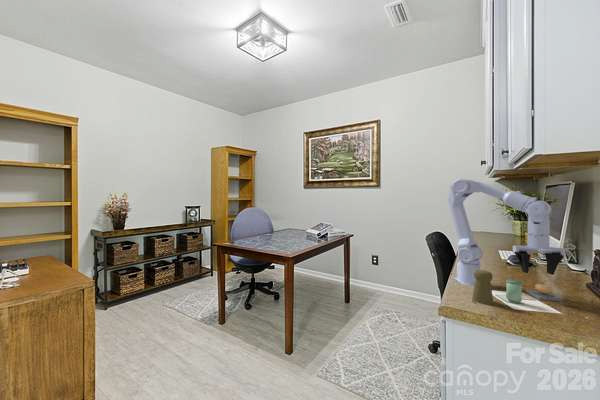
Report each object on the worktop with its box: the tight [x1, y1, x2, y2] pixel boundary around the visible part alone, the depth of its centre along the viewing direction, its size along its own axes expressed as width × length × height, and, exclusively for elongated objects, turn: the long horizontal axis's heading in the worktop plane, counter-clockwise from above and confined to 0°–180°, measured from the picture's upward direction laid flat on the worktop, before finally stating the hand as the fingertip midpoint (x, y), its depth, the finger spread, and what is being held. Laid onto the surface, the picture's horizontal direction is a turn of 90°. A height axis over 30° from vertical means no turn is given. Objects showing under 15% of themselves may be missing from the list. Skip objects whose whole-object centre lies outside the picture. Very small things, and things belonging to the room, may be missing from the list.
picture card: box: [492, 289, 563, 315], centre depth 87 cm, size 18×13×1 cm
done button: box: [534, 283, 553, 294], centre depth 91 cm, size 4×4×2 cm
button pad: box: [525, 289, 564, 303], centre depth 91 cm, size 7×7×2 cm
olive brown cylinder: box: [471, 269, 494, 306], centre depth 86 cm, size 6×6×11 cm
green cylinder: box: [505, 278, 523, 304], centre depth 86 cm, size 4×4×7 cm
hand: (537, 273), depth 90 cm, fingers open, 7 cm apart
